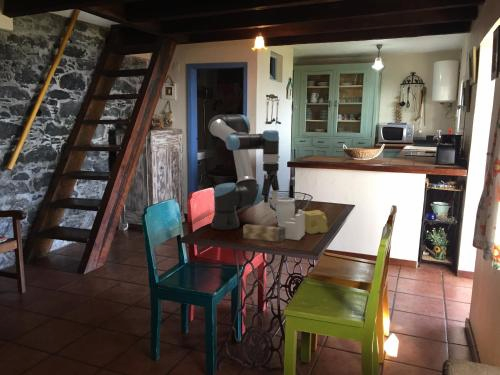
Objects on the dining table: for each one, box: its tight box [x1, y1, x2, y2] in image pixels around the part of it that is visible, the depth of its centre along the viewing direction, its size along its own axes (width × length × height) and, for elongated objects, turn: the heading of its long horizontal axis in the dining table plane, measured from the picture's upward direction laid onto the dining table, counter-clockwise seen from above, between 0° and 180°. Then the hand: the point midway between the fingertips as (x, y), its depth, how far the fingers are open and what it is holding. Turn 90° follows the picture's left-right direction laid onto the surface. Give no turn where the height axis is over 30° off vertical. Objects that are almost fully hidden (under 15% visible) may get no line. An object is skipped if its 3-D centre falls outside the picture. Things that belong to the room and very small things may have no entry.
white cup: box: [275, 197, 296, 228], centre depth 229 cm, size 11×10×15 cm
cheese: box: [305, 209, 328, 235], centre depth 218 cm, size 10×11×10 cm
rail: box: [242, 223, 286, 243], centre depth 204 cm, size 20×4×6 cm, turn 68°
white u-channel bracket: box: [284, 209, 306, 241], centre depth 207 cm, size 7×11×14 cm, turn 158°
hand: (270, 206), depth 205 cm, fingers open, 13 cm apart
